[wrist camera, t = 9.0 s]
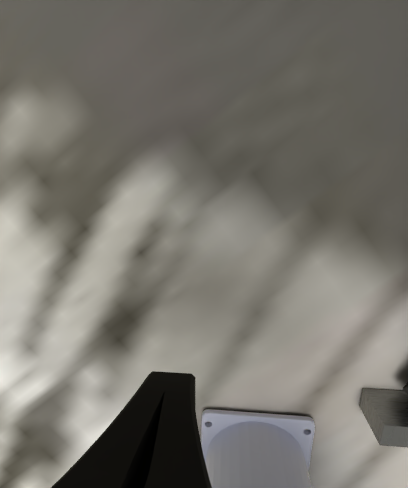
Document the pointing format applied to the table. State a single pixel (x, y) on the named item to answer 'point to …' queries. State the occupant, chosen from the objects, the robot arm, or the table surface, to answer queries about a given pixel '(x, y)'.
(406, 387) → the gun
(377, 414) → the slate box
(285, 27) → the table surface
